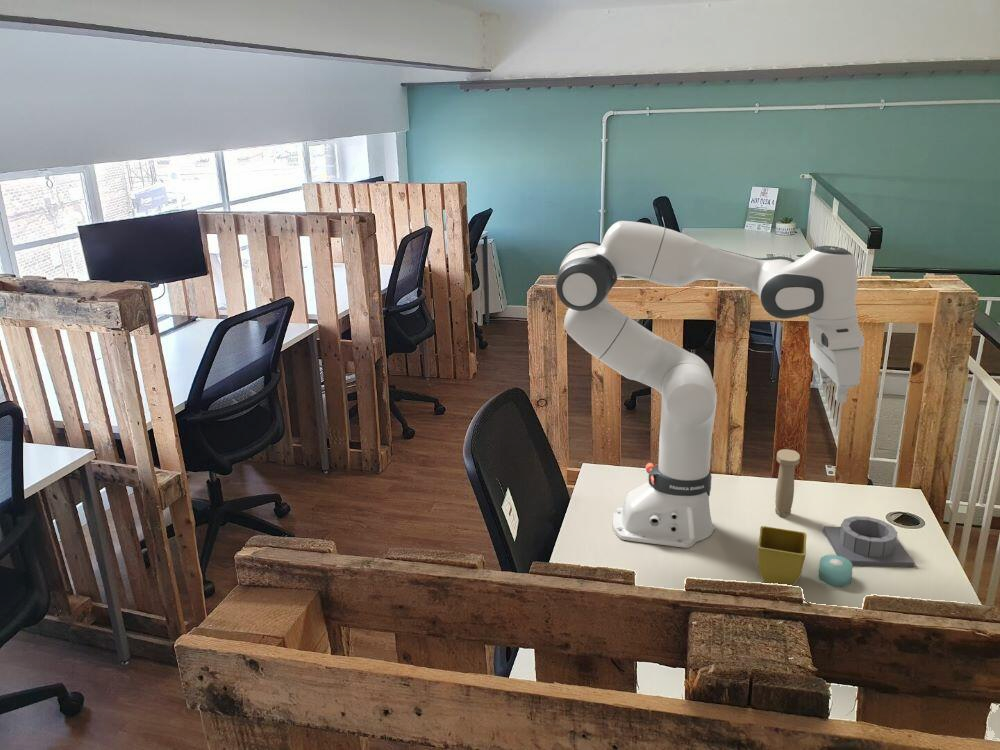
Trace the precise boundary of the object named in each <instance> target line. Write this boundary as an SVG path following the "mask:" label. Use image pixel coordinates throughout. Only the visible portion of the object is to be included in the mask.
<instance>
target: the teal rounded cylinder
mask: <svg viewBox="0 0 1000 750" xmlns="http://www.w3.org/2000/svg"><path fill="white" fill-rule="evenodd" d="M853 567H854V565H853V564H852V563H851V562H850V561H849V560H848V559H846V558H844V557H841V556H837V555H836V554H826V555H823V556H821V557H820V559H819V566H818V575H817V576H818V579H819V580H820V581H821V582H823V583H824V584H826V585H827V586H832V587H836V588H838V587H839V588H841V587H842V588H843V587H847V586H849V585H850V584H851V582H852V574H853Z"/></svg>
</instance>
